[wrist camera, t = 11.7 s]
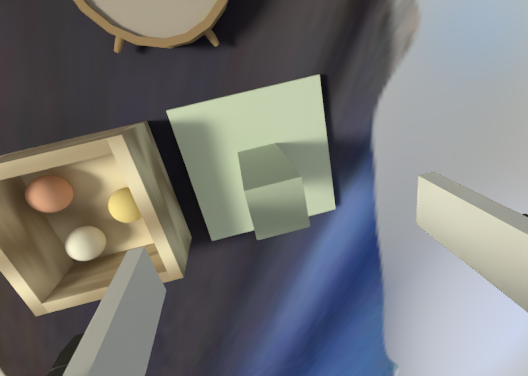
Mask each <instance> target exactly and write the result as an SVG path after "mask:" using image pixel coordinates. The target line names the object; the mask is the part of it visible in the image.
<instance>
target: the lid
mask: <svg viewBox="0 0 528 376" xmlns="http://www.w3.org/2000/svg"><path fill="white" fill-rule="evenodd" d="M166 112H167V115H168V117H169V120H170V123H171V126H172V129H173V132H174V134H175V137H176V140H177V143H178V146H179V149H180V152H181V154H182V157H183V160H184V163H185V166H186V169H187V172H188V174H189V177H190V180H191V183H192V186H193V189H194V191H195V194H196V197H197V200H198V203H199V206H200V209H201V211H202V214H203V217H204V220H205V223H206V226H207V228H208V231H209V234H210V237H211V240H212V241H214V240H218V239H222V238H226V237H230V236H234V235H237V234H241V233H245V232H249V231H253V230H254V231H255V234H256V238H257V240H260V239H264V238H268V237H272V236H276V235H279V234H283V233H287V232H291V231H295V230H299V229H302V228H306V227H310V222H309V216H311V215H315V214H319V213H323V212H326V211H330V210H334V209H336V208H335V200H334V192H333V183H332V175H331V166H330V158H329V150H328V141H327V133H326V124H325V116H324V107H323V99H322V91H321V82H320V75H313V76H309V77H305V78H301V79H296V80H292V81H288V82H284V83H279V84H275V85H271V86H267V87H263V88H258V89H254V90H250V91H246V92H241V93H237V94H233V95H229V96H224V97H220V98H216V99H212V100H207V101H203V102H199V103H195V104H191V105H186V106H182V107H178V108H174V109H169V110H167V111H166Z"/></svg>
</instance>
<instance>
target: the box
mask: <svg viewBox="0 0 528 376" xmlns="http://www.w3.org/2000/svg"><path fill="white" fill-rule="evenodd" d="M45 175H54V176H59V177H61V178H63V179H65V180H66V181H67V182H68V183H69V184H70V185H71V187H72V189H73V198H72V201H71V202H70V204H69V205H68V206H67V207H66V208H64V209H62V210H60V211H57V212H53V213H45V212H40V211H37V210H35V209H34V208H32V207H31V206H30V205H29V204H28V203H27V201H26V198H25V190H26V188H27V186H28V184H29V183H30V182H31V181H32V180H34V179H36V178H38V177H40V176H45ZM124 187H129V189H130V191H131V194H132V196H133V198H134V200H135V202H136V205H137V207H138V209H139V211H140V213H141V215H142V218H141V219H139V220H137V221H135V222H130V223H125V222H121V221H118V220H116V219H115V218H114V217H113V216H112V215H111V214H110V212H109V208H108V202H109V199H110V197H111V195H112V194H113V193H114V192H115V191H117V190H119V189H121V188H124ZM82 226H93V227H96V228H98V229H100V230H101V231H102V232H103V233H104V235H105V238H106V245H105V248H104V250H103V252H102V253H101V254H100V255H99V256H97V257H96V258H94V259H91V260H88V261H79V260H75V259H73V258H71V257H70V256H69V255H68V254H67V252H66V250H65V240H66V238H67V236H68V235H69V234H70V233H71V232H72V231H73V230H75V229H76V228H79V227H82ZM191 239H192V237H191V234H190V231H189V229H188V226H187V224H186V221H185V218H184V216H183V213H182V211H181V208H180V205H179V203H178V200H177V198H176V195H175V192H174V190H173V187H172V185H171V182H170V179H169V177H168V174H167V172H166V169H165V166H164V164H163V161H162V159H161V156H160V153H159V151H158V148H157V146H156V143H155V140H154V138H153V135H152V133H151V130H150V127H149V125H148V122H147V121H145V122H140V123H136V124H132V125H128V126H123V127H119V128H115V129H111V130H106V131H102V132H98V133H94V134H90V135H85V136H81V137H77V138H73V139H68V140H64V141H60V142H56V143H51V144H47V145H43V146H39V147H34V148H30V149H26V150H22V151H18V152H13V153H9V154H5V155H2V156H0V271H1V272H2V273H3V275H4V276H5V277H6V278H7V280H8V281H9V282H10V284H11V285H12V286H13V287H14V289H15V290H16V291H17V293H18V294H19V295H20V296H21V298H22V299H23V300H24V301H25V303H26V304H27V305H28V307H29V308H30V309H31V310H32V312H33V313H34V314H35V316H38V315H42V314H46V313H50V312H54V311H58V310H61V309H65V308H69V307H73V306H77V305H80V304H84V303H88V302H92V301H96V300H99V299H103V297H104V295H105V293H106V291H107V289H108V287H109V285H110V283H111V281H112V280H113V278H114V276H115V274H116V272H117V270H118V268H119V266H120V264H121V262H122V260H123V258H124V256H125V254H126V253H127V251H128V250H132V249H136V248H140V247H145V249H146V251H147V253H148V255H149V257H150V259H151V261H152V263H153V265H154V267H155V269H156V271H157V273H158V275H159V277H160V279H161V281H162V283H164V282H168V281H172V280H176V279H179V278H183V277H184V272H185V267H186V263H187V258H188V253H189V248H190V243H191Z"/></svg>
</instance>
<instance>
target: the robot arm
mask: <svg viewBox="0 0 528 376" xmlns="http://www.w3.org/2000/svg"><path fill="white" fill-rule="evenodd" d="M417 195H418V196H417V216H416V224H417V225H418V226H420V227H421V228H422V229H423V230H425V231H426V232H427V233H428V234H430V235H431V236H432V237H433V238H435V239H436V240H437V241H439V242H440V243H441V244H442V245H443V246H445V247H446V248H447V249H449V250H450V251H451V252H452V253H454V254H455V255H456V256H457V257H459V258H460V259H461V260H462V261H464V262H465V263H466V264H467V265H469V266H470V267H471V268H472V269H474V270H475V271H476V272H478V273H479V274H480V275H481V276H483V277H484V278H485V279H486V280H488V281H489V282H490V283H491V284H493V285H494V286H495V287H496V288H498V289H499V290H500V291H501V292H503V293H504V294H505V295H507V296H508V297H509V298H510V299H512V300H513V301H514V302H515V303H517V304H518V305H519V306H520V307H522V308H523V309H524V310H525V311H527V312H528V215H527V214H520V213H518V212H516V211H514V210H512V209H510V208H508V207H505V206H503V205H501V204H499V203H497V202H495V201H493V200H491V199H489V198H487V197H485V196H483V195H480V194H478V193H476V192H474V191H472V190H470V189H468V188H466V187H464V186H462V185H460V184H458V183H455V182H453V181H451V180H450V179H447V178H445V177H443V176H441V175H439V174H437V173H435V172H431V173H427V174H423V175H419V176H418V194H417ZM165 293H166V289H165V287H164V285H163V283H162V281H161V279H160V277H159V275H158V273H157V271H156V269H155V267H154V265H153V263H152V261H151V259H150V257H149V255H148V253H147V251H146V249H145V247H140V248H136V249H132V250H128V251H127V253H126V254H125V256H124V258H123V260H122V262H121V264H120V266H119V268H118V270H117V272H116V274H115V276H114V278H113V280H112V281H111V283H110V285H109V287H108V289H107V291H106V293H105V295H104V297H103V299H102V301H101V303H100V305H99V306H98V308H97V310H96V312H95V314H94V316H93V318H92V320H91V322H90V324H89V326H88V328H87V330H86V331H85V333H83V334H79V335H76V336H75V337H74V338H73V339H72V340H71V341H70V342H69V343H68V344H67V346H66V347H65V348H64V349H63V350H62V351H61V353H60V355H59V356H58V358H57V360H56V362H55V363H54V365H53V367H52V371H51V372H49V374H48V376H145V373H146V369H147V365H148V361H149V357H150V353H151V349H152V345H153V341H154V337H155V333H156V329H157V325H158V321H159V317H160V313H161V309H162V305H163V301H164V297H165Z"/></svg>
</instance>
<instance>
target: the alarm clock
mask: <svg viewBox="0 0 528 376" xmlns="http://www.w3.org/2000/svg"><path fill="white" fill-rule="evenodd" d="M73 1H74V2H75V3H76V5H77V6H78V7H79V8H80V10H81V11H82V12H83V13H85V14H86V15H87V16H88V17H90V18H91V19H92V20H93V21H95V22H96V23H97V24H98V25H100V26H101V27H102V28H104V29H105V30H106V31H107V32H109V33H111V34H113V35H115V36H116V39H115V45H114V51H115V52H117V53H119V54H120V53H121V51H122V49H123V47H124V44H125V40H127V41H129V42H131V43H134V44H136V45H143V46H152V47H162V48H174V47H178V46H182V45H186V44H190V43H193V42H195V41H196V40H197V39H199V38H200V37H202V36H203V35H206V37H207V38H208V40H209V41H210V42H211V43H212V44H213V45H214V46H215V47H216V46H217V45H219V41H218V39H217V37H216V35H215V34H214V32H213V31H212V28H213V27H214V25H215V24H216V22H217V21H218V20H219V18H220V17H221V15H222V14H223V12H224V11H225V9H226V6H227V3H228V0H73Z"/></svg>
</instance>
